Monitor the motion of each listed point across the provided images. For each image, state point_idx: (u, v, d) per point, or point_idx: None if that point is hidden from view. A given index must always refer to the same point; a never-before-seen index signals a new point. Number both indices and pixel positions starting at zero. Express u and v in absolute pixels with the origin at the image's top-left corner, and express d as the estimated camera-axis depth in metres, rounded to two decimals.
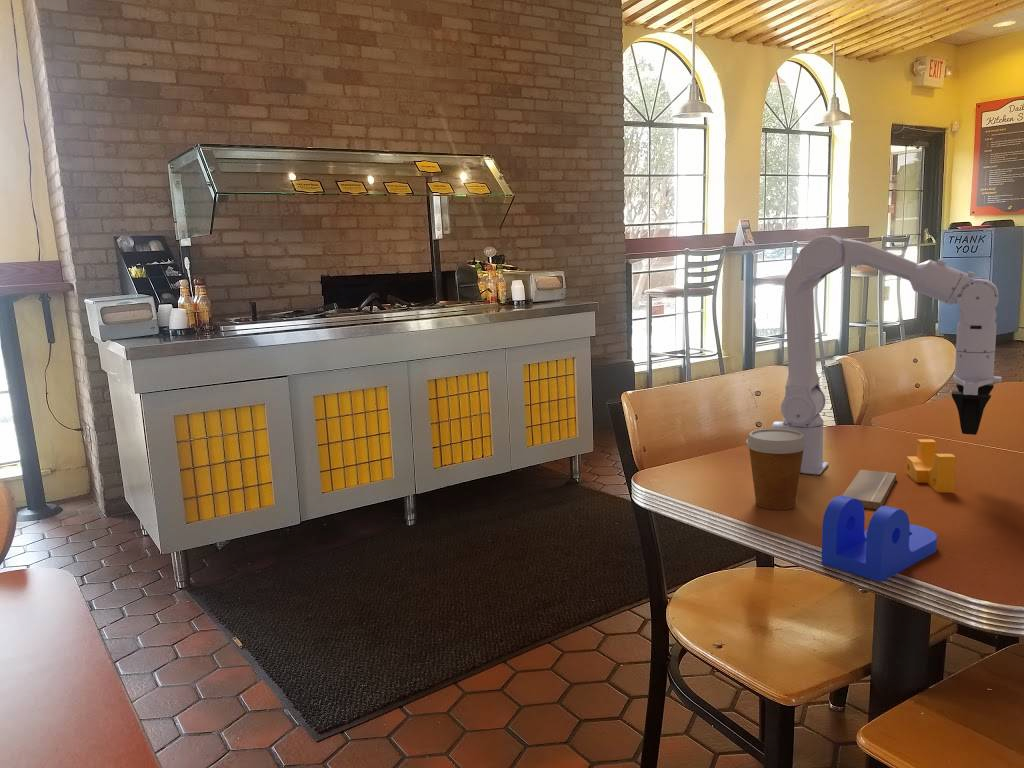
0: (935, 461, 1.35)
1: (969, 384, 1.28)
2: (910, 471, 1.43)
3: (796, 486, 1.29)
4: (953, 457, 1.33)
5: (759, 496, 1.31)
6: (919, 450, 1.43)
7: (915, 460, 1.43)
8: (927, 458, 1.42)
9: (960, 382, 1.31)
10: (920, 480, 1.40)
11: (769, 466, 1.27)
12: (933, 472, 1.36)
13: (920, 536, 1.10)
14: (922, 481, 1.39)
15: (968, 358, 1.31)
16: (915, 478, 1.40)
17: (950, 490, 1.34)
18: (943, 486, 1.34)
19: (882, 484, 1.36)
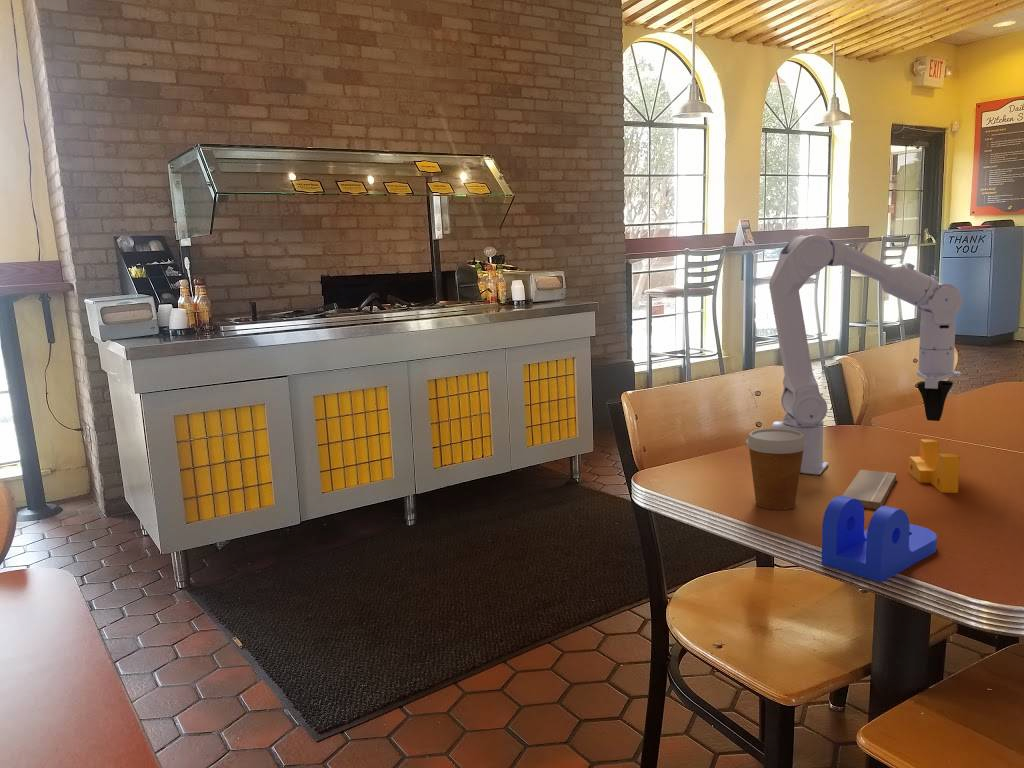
0: (939, 461, 1.35)
1: (930, 378, 1.40)
2: (913, 471, 1.43)
3: (796, 486, 1.29)
4: (957, 457, 1.32)
5: (759, 496, 1.31)
6: (922, 450, 1.43)
7: (918, 460, 1.42)
8: (930, 458, 1.42)
9: (922, 377, 1.43)
10: (924, 480, 1.39)
11: (769, 466, 1.27)
12: (937, 472, 1.36)
13: (920, 536, 1.10)
14: (926, 481, 1.39)
15: (930, 355, 1.44)
16: (918, 478, 1.40)
17: (954, 490, 1.33)
18: (947, 486, 1.33)
19: (882, 484, 1.36)
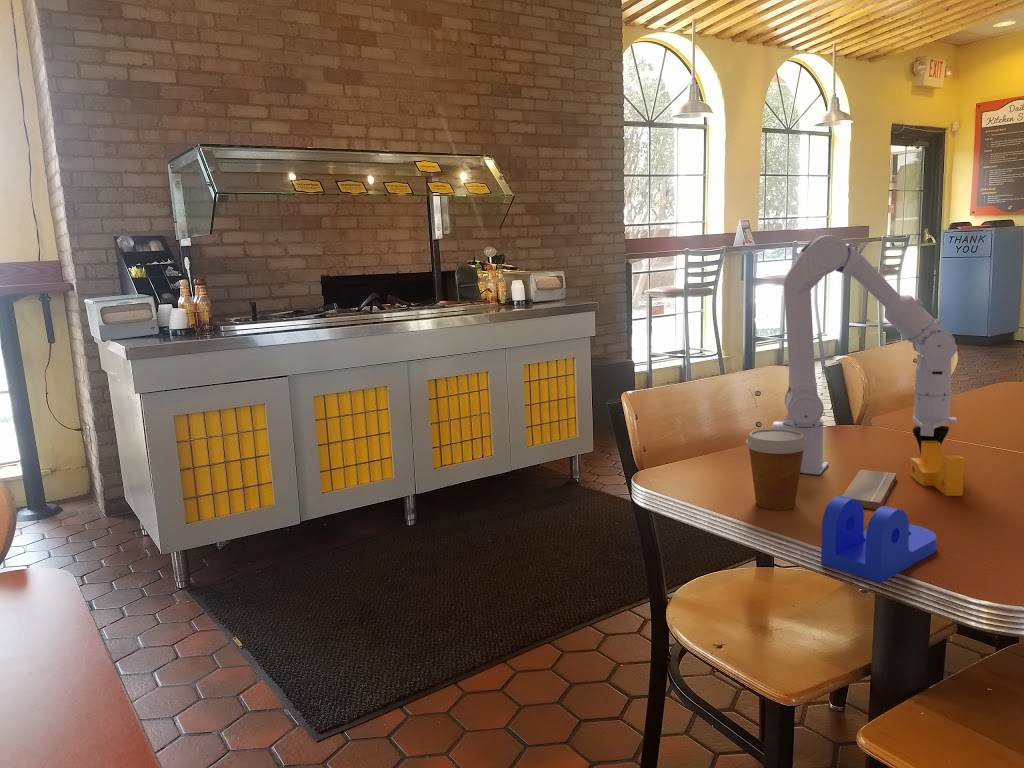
0: (943, 463, 1.33)
1: (925, 426, 1.38)
2: (915, 473, 1.41)
3: (796, 486, 1.29)
4: (962, 459, 1.31)
5: (759, 496, 1.31)
6: (924, 452, 1.41)
7: (920, 462, 1.40)
8: (932, 459, 1.40)
9: (918, 423, 1.41)
10: (927, 482, 1.37)
11: (769, 466, 1.27)
12: (941, 474, 1.34)
13: (920, 536, 1.10)
14: (929, 483, 1.37)
15: (926, 401, 1.41)
16: (921, 480, 1.38)
17: (959, 492, 1.32)
18: (952, 488, 1.32)
19: (882, 484, 1.36)
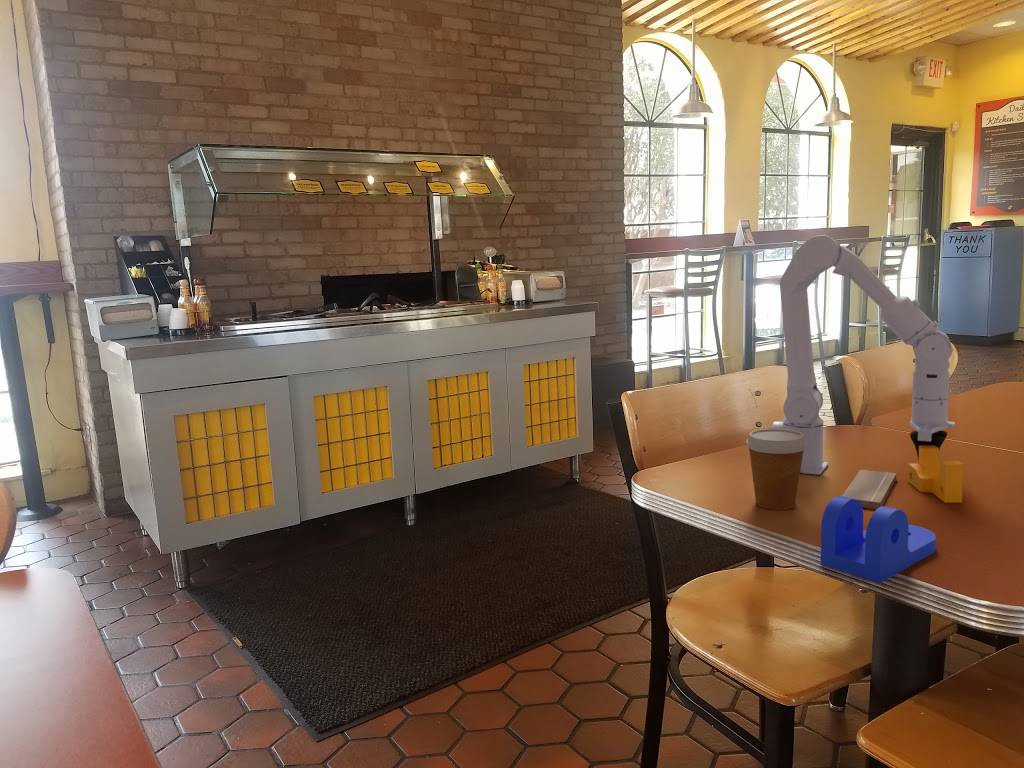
0: (942, 469, 1.29)
1: (923, 431, 1.35)
2: (913, 479, 1.38)
3: (796, 486, 1.29)
4: (961, 465, 1.27)
5: (759, 496, 1.31)
6: (921, 457, 1.38)
7: (918, 468, 1.37)
8: (930, 465, 1.37)
9: (915, 428, 1.38)
10: (925, 489, 1.34)
11: (769, 466, 1.27)
12: (939, 480, 1.30)
13: (919, 536, 1.10)
14: (927, 490, 1.34)
15: (923, 405, 1.38)
16: (919, 487, 1.35)
17: (958, 499, 1.28)
18: (951, 495, 1.28)
19: (882, 484, 1.36)
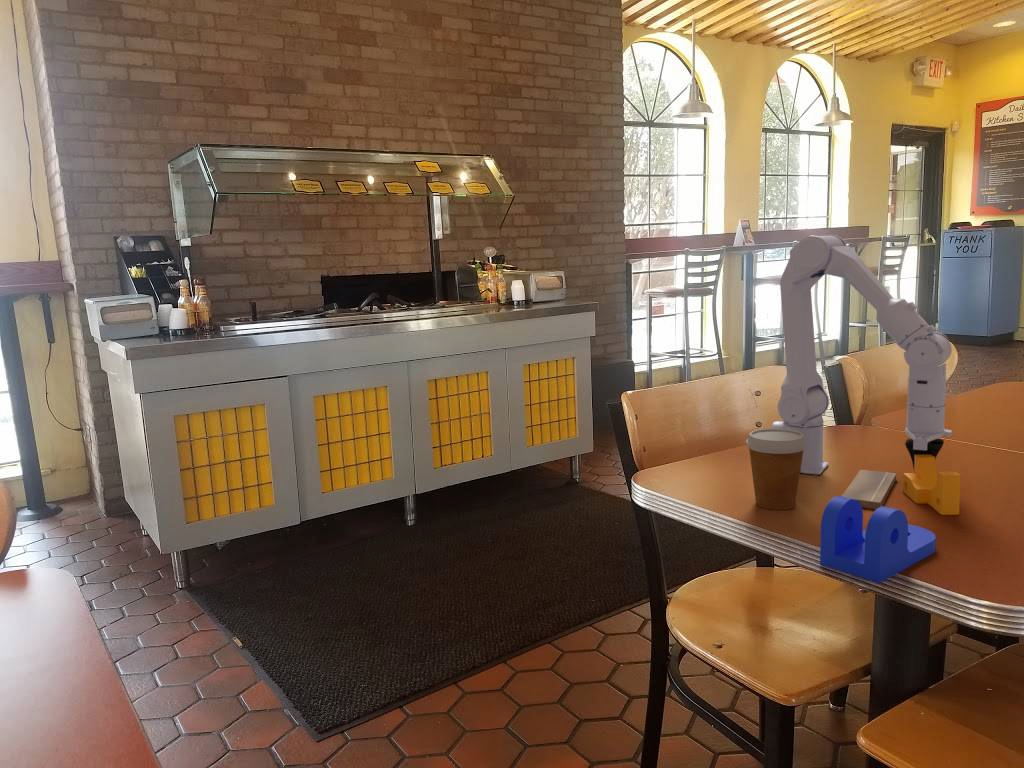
0: (938, 480, 1.24)
1: (918, 439, 1.29)
2: (908, 490, 1.32)
3: (796, 486, 1.29)
4: (958, 475, 1.22)
5: (759, 496, 1.31)
6: (917, 466, 1.33)
7: (914, 478, 1.32)
8: (926, 475, 1.31)
9: (911, 436, 1.33)
10: (921, 500, 1.29)
11: (769, 466, 1.27)
12: (936, 491, 1.25)
13: (919, 537, 1.10)
14: (923, 501, 1.29)
15: (919, 412, 1.33)
16: (915, 498, 1.29)
17: (955, 511, 1.23)
18: (948, 507, 1.23)
19: (882, 484, 1.36)
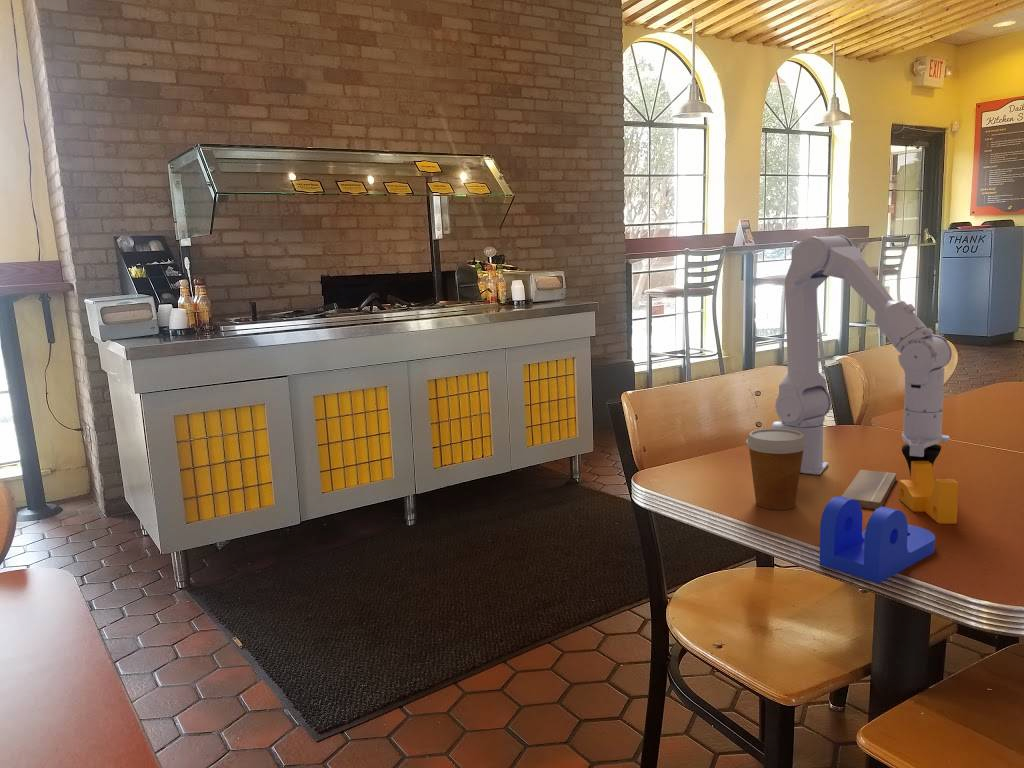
0: (935, 487, 1.20)
1: (915, 445, 1.26)
2: (905, 497, 1.29)
3: (796, 486, 1.29)
4: (956, 483, 1.18)
5: (759, 496, 1.31)
6: (914, 473, 1.29)
7: (910, 485, 1.28)
8: (923, 482, 1.28)
9: (907, 442, 1.29)
10: (917, 508, 1.25)
11: (769, 466, 1.27)
12: (933, 499, 1.22)
13: (918, 537, 1.10)
14: (919, 509, 1.25)
15: (916, 417, 1.29)
16: (911, 505, 1.26)
17: (953, 520, 1.19)
18: (945, 515, 1.19)
19: (882, 484, 1.36)
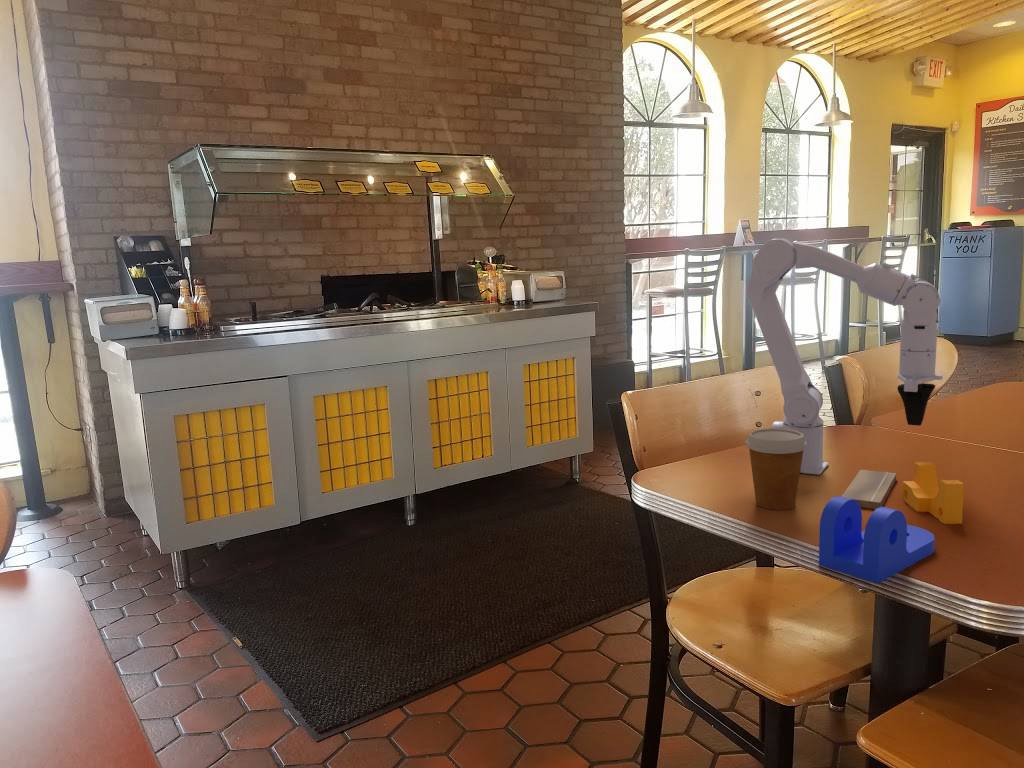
0: (941, 488, 1.20)
1: (909, 381, 1.34)
2: (908, 498, 1.29)
3: (796, 486, 1.29)
4: (961, 484, 1.18)
5: (759, 496, 1.31)
6: (917, 474, 1.29)
7: (914, 486, 1.28)
8: (926, 483, 1.28)
9: (902, 379, 1.38)
10: (921, 509, 1.25)
11: (769, 466, 1.27)
12: (938, 500, 1.21)
13: (918, 537, 1.10)
14: (924, 510, 1.25)
15: (910, 357, 1.38)
16: (916, 507, 1.26)
17: (958, 521, 1.19)
18: (950, 517, 1.19)
19: (882, 484, 1.36)
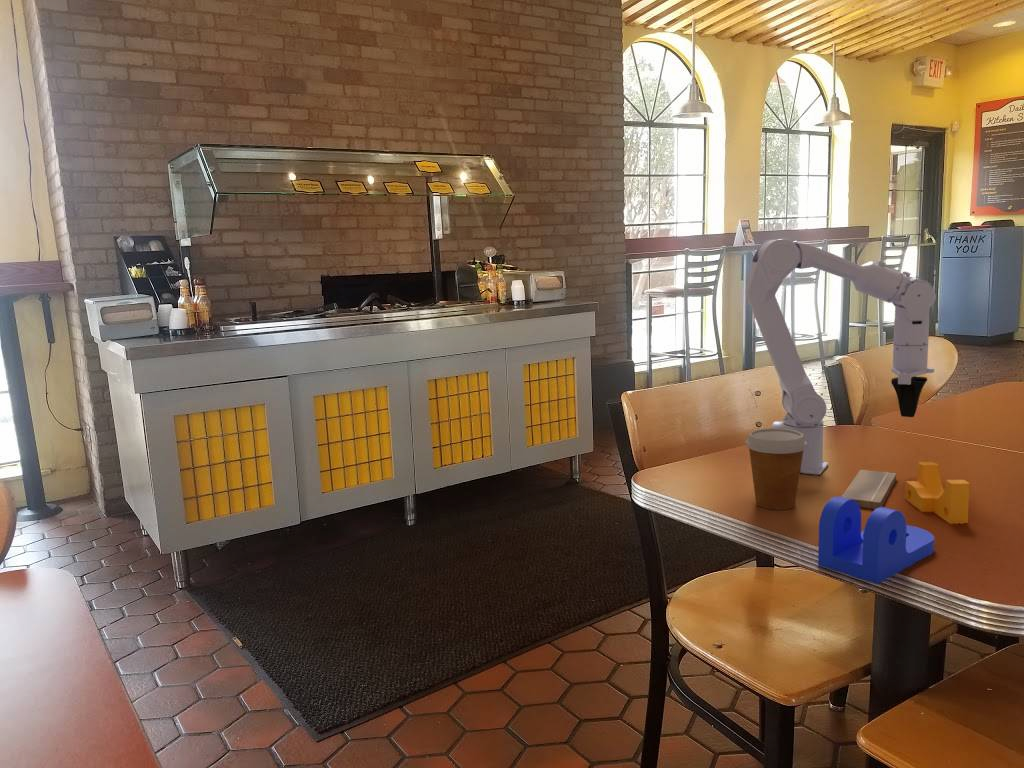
0: (946, 488, 1.20)
1: (903, 374, 1.40)
2: (912, 498, 1.28)
3: (796, 486, 1.29)
4: (967, 484, 1.18)
5: (759, 496, 1.31)
6: (921, 474, 1.29)
7: (918, 486, 1.28)
8: (930, 483, 1.28)
9: (896, 373, 1.43)
10: (926, 509, 1.25)
11: (769, 466, 1.27)
12: (943, 500, 1.21)
13: (917, 537, 1.10)
14: (928, 510, 1.25)
15: (904, 351, 1.43)
16: (920, 507, 1.26)
17: (964, 521, 1.19)
18: (956, 516, 1.19)
19: (882, 484, 1.36)
